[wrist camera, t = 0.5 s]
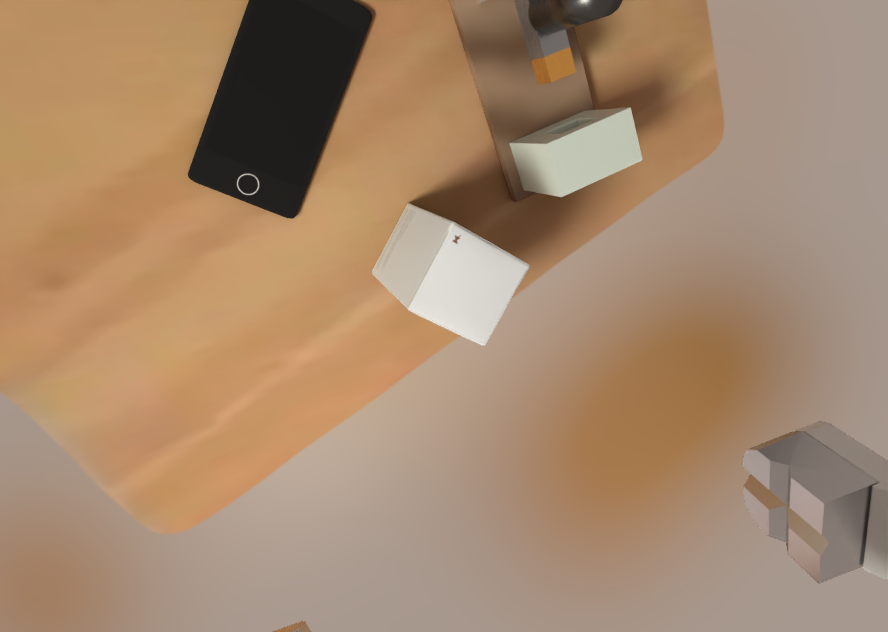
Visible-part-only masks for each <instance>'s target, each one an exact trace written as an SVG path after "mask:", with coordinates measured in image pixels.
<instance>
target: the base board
mask: <svg viewBox="0 0 888 632" xmlns="http://www.w3.org/2000/svg"><path fill="white" fill-rule="evenodd" d="M449 2H450V6H451V9H452V12H453V15H454V18H455V21H456V25H457V28H458V31H459V34H460V37H461V40H462V43H463V47H464V50H465V53H466V56H467V59H468V62H469V66H470V69H471V72H472V75H473V78H474V81H475V85H476V88H477V91H478V94H479V97H480V100H481V103H482V107H483V110H484V113H485V116H486V119H487V122H488V126H489V129H490V132H491V135H492V138H493V141H494V145H495V148H496V151H497V154H498V157H499V160H500V163H501V167H502V170H503V173H504V176H505V179H506V182H507V186H508V189H509V192H510V195H511V198H512V200H513V201H518V200H521V199H523V198H525V197H527V196H530V195H532V194H534V193H536V192H531V191H526V190H524V189H523V186H522V183H521V180H520V176H519V173H518V170H517V167H516V163H515V160H514V157H513V153H512V150H511V147H510V144H509V143H511V142H513V141H515V140H518V139H520V138H522V137H525V136H527V135H529V134H531V133H534V132H536V131H538V130H541V129H543V128H545V127H548V126H550V125H552V124H555V123H557V122H559V121H562V120H564V119H566V118H569V117H571V116H573V115H576V114H578V113H580V112H583V111H588V110H594V106H593V102H592V98H591V94H590V90H589V86H588V82H587V78H586V74H585V70H584V66H583V62H582V58H581V54H580V50H579V46H578V42H577V38H576V34H575V30H574V27H571V28H568V29H566V33H567V37H568V41H569V45H570V49H571V53H572V57H573V61H574V65H575V69H576V72H575V73H573V74H570V75H568V76H566V77H563V78H561V79H558V80H556V81H554V82H551V83H546V84H540V85H538V84H537V81H536V77H535V74H534V70H533V66H532V63H531V59H530V56H529V52H528V48H527V45H526V41H525V38H524V34H523V31H522V27H521V23H520V20H519V16H518V13H517V9H516V5H515V2H514V0H489V1H487V2H484V3H481V4H478V1H477V0H449Z"/></svg>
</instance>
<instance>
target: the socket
mask: <svg viewBox="0 0 888 632" xmlns="http://www.w3.org/2000/svg"><path fill="white" fill-rule="evenodd" d="M509 144H510V147H511V150H512V153H513V157H514V160H515V163H516V167H517V170H518V173H519V176H520V180H521V183H522V186H523V189H524V190H526V191H531V192H537V193H542V194H547V195H553V196H558V197H563V196H565V195H568V194H570V193H572V192H574V191H576V190H578V189H581V188H583V187H585V186H587V185H589V184H592V183H594V182H596V181H598V180H600V179H603V178H605V177H607V176H609V175H611V174H614V173H616V172H618V171H620V170H622V169H625V168H627V167H629V166H631V165H633V164H636V163H638V162H640V161H642V156H641V151H640V147H639V142H638V138H637V133H636V129H635V124H634V120H633V116H632V111H631V107H628V108H615V109H601V110H588V111H583V112H580V113H578V114H576V115H573V116H571V117H569V118H566V119H564V120H562V121H559V122H557V123H555V124H552V125H550V126H548V127H545V128H543V129H541V130H538V131H536V132H534V133H531V134H529V135H527V136H525V137H522V138H520V139H518V140H515V141H513V142H511V143H509Z"/></svg>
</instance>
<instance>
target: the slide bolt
mask: <svg viewBox="0 0 888 632" xmlns="http://www.w3.org/2000/svg"><path fill="white" fill-rule="evenodd" d="M514 2H515V5H516V9H517V13H518V16H519V20H520V23H521V27H522V31H523V34H524V38H525V41H526V45H527V48H528V52H529V56H530V59H531V63H532V66H533V70H534V74H535V77H536V81H537V84H538V85H540V84H546V83H551V82H554V81H556V80H558V79H561V78H563V77H566V76H568V75H570V74H573V73H575V72H576V69H575V65H574V61H573V57H572V53H571V49H570V45H569V41H568V37H567V33H566V29H568V28H571V27H574V26H578V25H581V24H584V23H587V22H590V21H593V20H596V19H599V18H602V17H605V16H608V15H611V14H612V13H614V12H615V11H616V10H617V9H618V8H619V6H620V5H621V3H622V0H514Z"/></svg>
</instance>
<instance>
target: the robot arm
mask: <svg viewBox="0 0 888 632" xmlns="http://www.w3.org/2000/svg"><path fill="white" fill-rule="evenodd" d="M743 467H744V468H745V469H746V470H747V471H748V472H749V473H750V476H749V477H748V479H747V481H746V483H745V484H744V486H743V489H744V501H745V503H746V506H747V508H748V511H749V513H750V515H751V517H752V518H753V519H754V521H755V522H756V524H757V525H758V526H759V527H760V528H761V529H762V530H763V531H764V532H765V533H766V534H767V535H768V536H769V537H772V538H775V539H778V540H781V541H784V542H786V545H787V551H788V555H789V556H790V557H791V558H792V559H793V560H794V561H795V562H796V563H797V564H798V565H799V566H800V567H801V568H803V569H804V570H805V571H806V572H807V573H808V574H809V575H810V576H811V577H812V578H813V579H814V580H815V581H817V583H821V582H824V581H827V580H829V579H832V578H834V577H837V576H839V575H842V574H845V573H847V572H850V571H852V570H855V569H857V568H860V567H862V566H863V569H864V570H866V571H868V572H870V573H873V574H875V575H877V576H880V577H882V578H884V579H886V580H888V460H886V459H885V458H883V457H882V456H880V455H878V454H877V453H875V452H874V451H872V450H871V449H869V448H867V447H866V446H864V445H863V444H861V443H860V442H858V441H856V440H855V439H854V438H852V437H850V436H849V435H847V434H846V433H844V432H843V431H841V430H839V429H838V428H836V427H835V426H833V425H832V424H830V423H827V422H823V421H819V422H816V423H814V424H811V425H808V426H806V427H803V428H801V429H798V430H796V431H794V432H790V433H787V434H785V435H782V436H780V437H777V438H775V439H773V440H770V441H767V442H765V443H762V444H760V445H757V446H755V447H752V448H750V449H747V451H746V453H745V454H744V456H743ZM273 632H311V631H310V629H309V627H308V625H307V624H306V622H305V621H301V622H299V623H296V624H293V625H290V626H287V627H284V628H282V629H279V630H276V631H273Z"/></svg>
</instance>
